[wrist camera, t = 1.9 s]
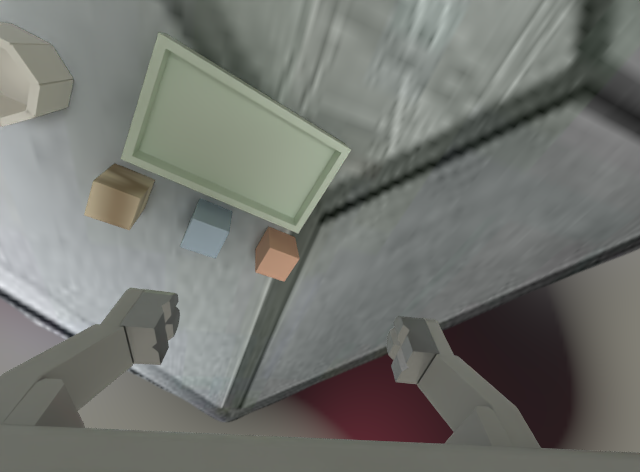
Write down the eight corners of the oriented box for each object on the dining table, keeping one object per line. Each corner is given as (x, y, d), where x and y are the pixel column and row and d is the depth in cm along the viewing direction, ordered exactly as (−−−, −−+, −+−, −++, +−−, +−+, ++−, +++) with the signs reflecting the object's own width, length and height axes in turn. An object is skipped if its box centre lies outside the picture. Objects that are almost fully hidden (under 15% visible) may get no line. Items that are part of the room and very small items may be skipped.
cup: (-26, 87, 25) (-81, 94, 21) (-21, 6, 23) (-81, -3, 19) (64, 125, 28) (31, 139, 24) (78, 58, 26) (44, 59, 22)
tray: (130, 151, 30) (120, 159, 28) (166, 33, 26) (158, 32, 24) (295, 223, 39) (298, 233, 37) (345, 143, 34) (351, 150, 32)
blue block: (188, 224, 36) (179, 246, 32) (200, 198, 35) (192, 218, 30) (219, 235, 38) (215, 258, 34) (232, 211, 36) (229, 232, 32)
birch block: (105, 194, 32) (84, 215, 28) (114, 163, 31) (93, 180, 27) (144, 208, 34) (129, 230, 30) (155, 179, 33) (140, 198, 28)
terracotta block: (255, 249, 40) (255, 272, 36) (268, 226, 38) (270, 247, 34) (281, 258, 42) (284, 281, 37) (294, 237, 40) (299, 258, 36)
